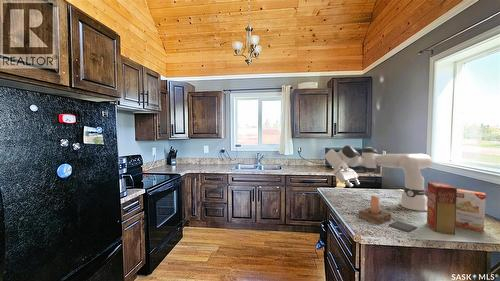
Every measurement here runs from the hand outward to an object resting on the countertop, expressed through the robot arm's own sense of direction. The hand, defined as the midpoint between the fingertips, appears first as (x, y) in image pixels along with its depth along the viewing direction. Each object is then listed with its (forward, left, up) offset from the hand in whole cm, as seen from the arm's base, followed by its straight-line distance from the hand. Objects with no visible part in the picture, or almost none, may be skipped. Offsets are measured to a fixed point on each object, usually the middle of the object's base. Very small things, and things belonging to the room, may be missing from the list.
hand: (355, 185), depth 147 cm
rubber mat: (-4, +27, -19) cm, 33 cm away
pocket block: (-2, +12, -19) cm, 22 cm away
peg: (-2, +12, -19) cm, 22 cm away
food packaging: (-20, +39, -19) cm, 48 cm away
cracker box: (-36, +46, -19) cm, 61 cm away
